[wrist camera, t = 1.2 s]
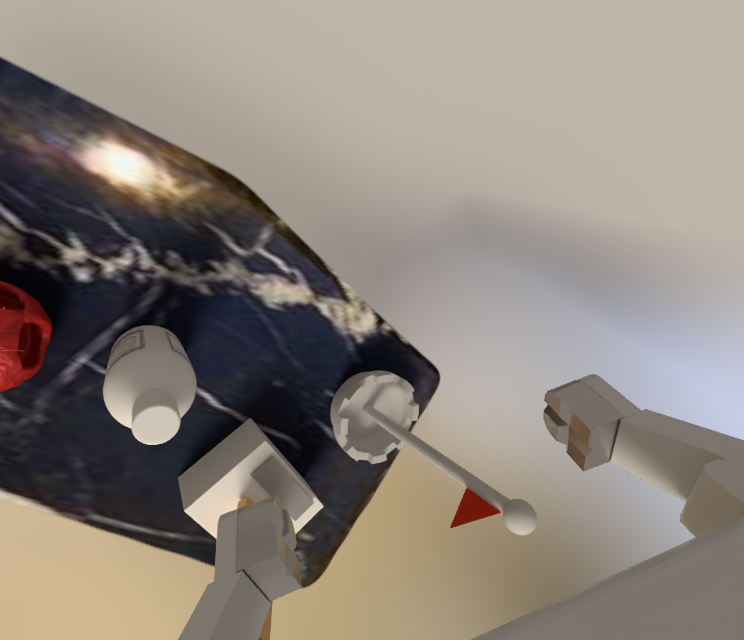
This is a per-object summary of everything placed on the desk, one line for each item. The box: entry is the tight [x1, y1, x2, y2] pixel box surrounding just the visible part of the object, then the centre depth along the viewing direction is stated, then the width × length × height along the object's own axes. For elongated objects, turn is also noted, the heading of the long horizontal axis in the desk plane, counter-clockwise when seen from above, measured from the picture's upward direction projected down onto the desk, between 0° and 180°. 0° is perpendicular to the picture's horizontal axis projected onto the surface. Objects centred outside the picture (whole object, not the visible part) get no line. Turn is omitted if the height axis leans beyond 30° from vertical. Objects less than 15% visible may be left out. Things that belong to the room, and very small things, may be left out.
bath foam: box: [103, 325, 196, 445], centre depth 34 cm, size 7×7×20 cm
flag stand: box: [331, 371, 537, 535], centre depth 46 cm, size 13×13×30 cm
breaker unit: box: [178, 418, 323, 539], centre depth 48 cm, size 10×13×8 cm
